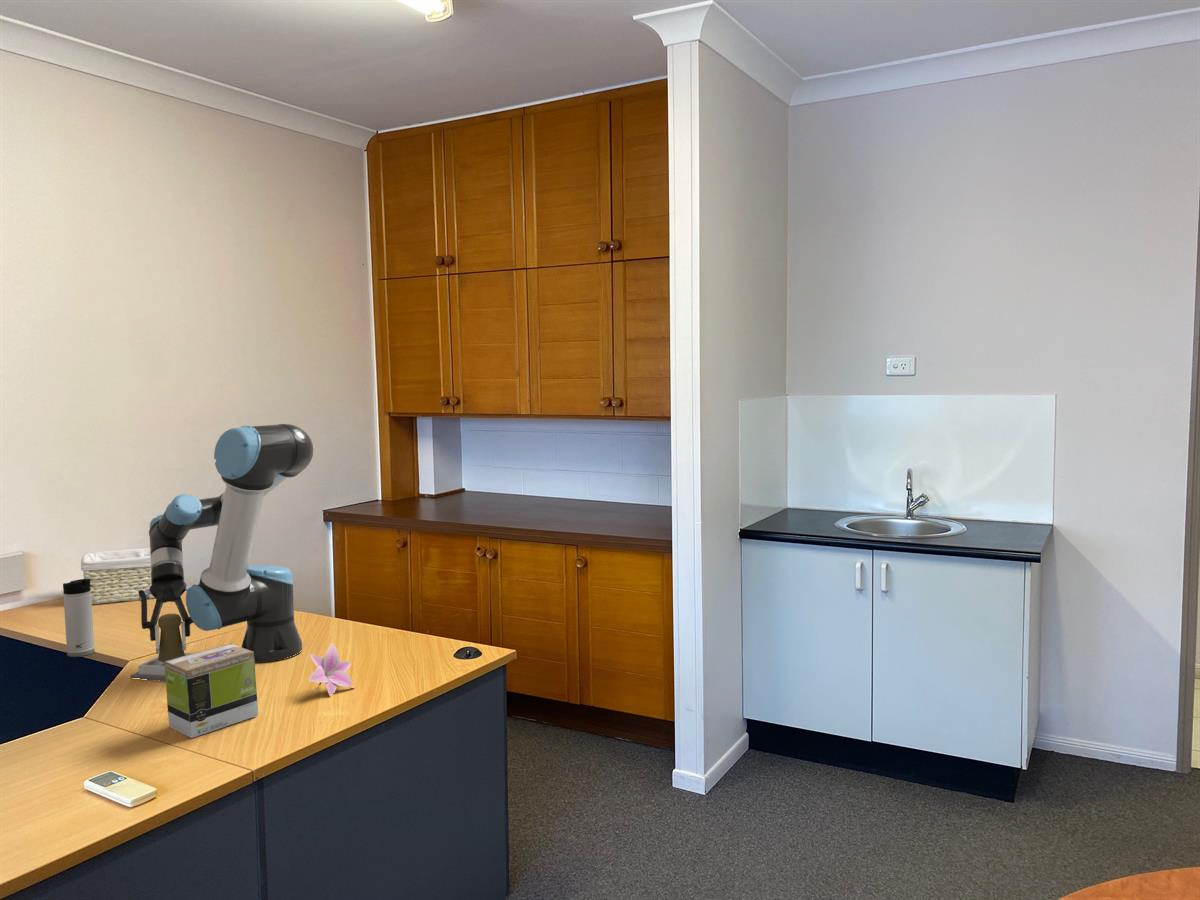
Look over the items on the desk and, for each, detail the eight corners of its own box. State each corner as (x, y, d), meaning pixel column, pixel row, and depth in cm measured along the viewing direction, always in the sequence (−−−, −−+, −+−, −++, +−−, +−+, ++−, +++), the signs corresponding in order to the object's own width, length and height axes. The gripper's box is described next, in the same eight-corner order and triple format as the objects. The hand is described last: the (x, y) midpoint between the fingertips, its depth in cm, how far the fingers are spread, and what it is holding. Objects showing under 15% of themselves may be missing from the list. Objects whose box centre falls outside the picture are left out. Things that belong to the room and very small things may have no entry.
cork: (189, 653, 223) (187, 611, 222) (178, 661, 217) (176, 617, 216) (164, 654, 223) (162, 611, 222) (153, 662, 217) (151, 618, 216)
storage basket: (166, 587, 304) (163, 545, 303) (167, 598, 290) (164, 554, 289) (85, 596, 294) (82, 552, 292) (82, 608, 279) (79, 562, 278)
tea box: (235, 706, 198) (232, 641, 196) (259, 717, 191) (256, 650, 190) (167, 727, 186) (163, 659, 185) (190, 740, 180) (186, 669, 178)
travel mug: (83, 658, 231) (78, 582, 229) (61, 656, 232) (56, 581, 230) (101, 650, 237) (96, 576, 235) (79, 648, 238) (75, 575, 236)
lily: (300, 706, 200) (316, 672, 197) (292, 672, 209) (307, 639, 207) (350, 710, 207) (366, 678, 204) (340, 677, 216) (355, 645, 214)
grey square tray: (211, 664, 225) (211, 652, 225) (179, 682, 212) (178, 670, 212) (165, 661, 227) (165, 650, 227) (130, 679, 215) (130, 667, 214)
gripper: (205, 573, 236) (211, 651, 223) (128, 581, 228) (130, 662, 215) (205, 557, 230) (211, 636, 217) (126, 564, 223) (128, 647, 209)
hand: (171, 649), depth 216 cm, fingers closed on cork, 5 cm apart
